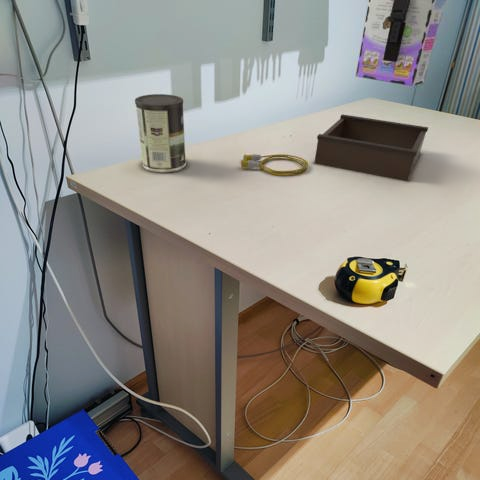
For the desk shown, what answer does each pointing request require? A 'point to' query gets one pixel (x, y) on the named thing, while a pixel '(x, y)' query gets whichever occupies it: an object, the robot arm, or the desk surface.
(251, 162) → the extension cord
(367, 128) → the square shelf
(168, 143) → the coffee can
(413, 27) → the candy box
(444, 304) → the desk surface
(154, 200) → the desk surface
